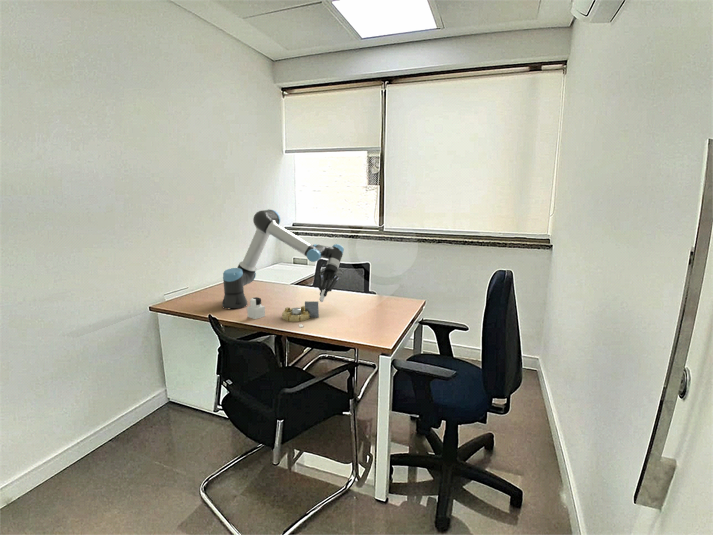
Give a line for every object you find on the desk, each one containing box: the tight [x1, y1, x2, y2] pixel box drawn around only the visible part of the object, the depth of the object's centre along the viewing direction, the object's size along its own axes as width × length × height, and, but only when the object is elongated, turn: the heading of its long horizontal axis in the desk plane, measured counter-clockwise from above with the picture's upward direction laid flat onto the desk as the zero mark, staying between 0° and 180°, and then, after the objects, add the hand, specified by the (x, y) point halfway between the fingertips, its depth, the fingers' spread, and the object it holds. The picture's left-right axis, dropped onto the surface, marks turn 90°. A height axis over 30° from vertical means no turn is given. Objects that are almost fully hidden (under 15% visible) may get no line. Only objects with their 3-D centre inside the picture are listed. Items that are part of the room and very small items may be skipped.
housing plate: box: [292, 307, 301, 315], centre depth 212 cm, size 20×20×6 cm
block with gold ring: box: [281, 300, 320, 323], centre depth 212 cm, size 20×15×9 cm
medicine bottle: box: [246, 296, 266, 320], centre depth 213 cm, size 7×7×12 cm
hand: (321, 300), depth 216 cm, fingers closed
